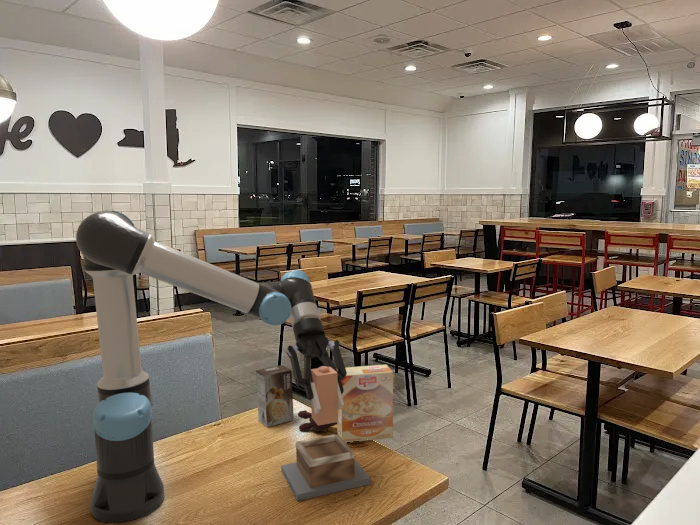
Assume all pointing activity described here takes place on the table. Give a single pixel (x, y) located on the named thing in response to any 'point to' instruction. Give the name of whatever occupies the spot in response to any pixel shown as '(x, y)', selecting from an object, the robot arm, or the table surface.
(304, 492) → the base board
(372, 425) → the coffeecake box
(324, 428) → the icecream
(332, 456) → the brown square box
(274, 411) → the coffee box
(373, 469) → the table surface
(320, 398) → the block
